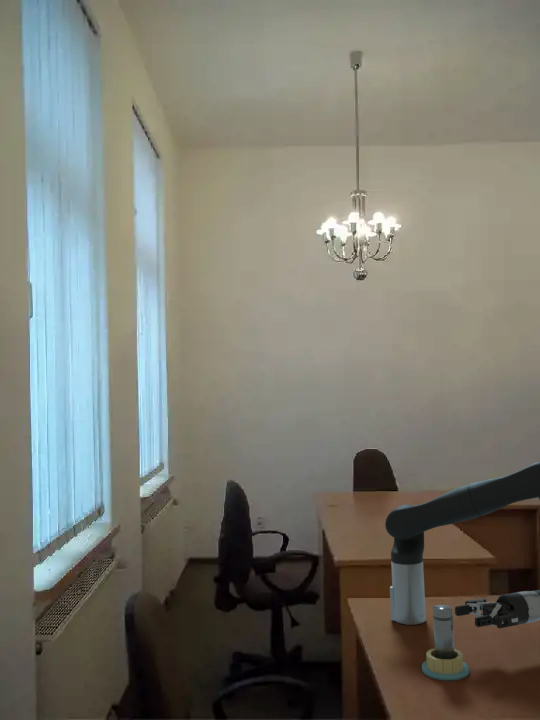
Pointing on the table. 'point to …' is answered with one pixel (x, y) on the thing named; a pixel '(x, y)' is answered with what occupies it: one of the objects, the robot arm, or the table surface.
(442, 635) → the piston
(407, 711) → the table surface
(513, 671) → the table surface
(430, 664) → the ring collar
